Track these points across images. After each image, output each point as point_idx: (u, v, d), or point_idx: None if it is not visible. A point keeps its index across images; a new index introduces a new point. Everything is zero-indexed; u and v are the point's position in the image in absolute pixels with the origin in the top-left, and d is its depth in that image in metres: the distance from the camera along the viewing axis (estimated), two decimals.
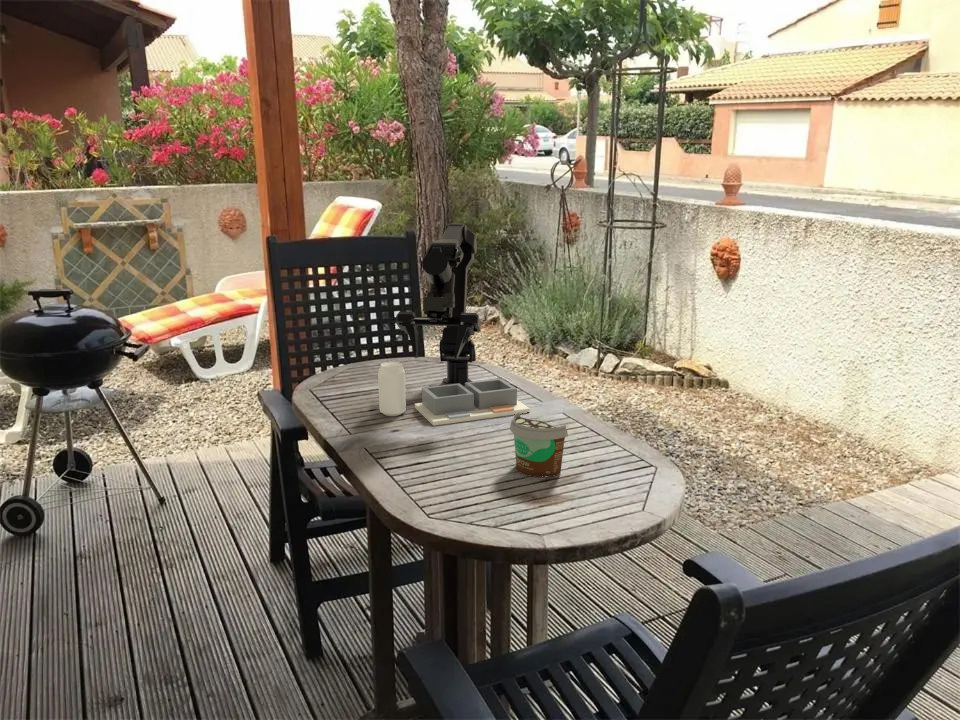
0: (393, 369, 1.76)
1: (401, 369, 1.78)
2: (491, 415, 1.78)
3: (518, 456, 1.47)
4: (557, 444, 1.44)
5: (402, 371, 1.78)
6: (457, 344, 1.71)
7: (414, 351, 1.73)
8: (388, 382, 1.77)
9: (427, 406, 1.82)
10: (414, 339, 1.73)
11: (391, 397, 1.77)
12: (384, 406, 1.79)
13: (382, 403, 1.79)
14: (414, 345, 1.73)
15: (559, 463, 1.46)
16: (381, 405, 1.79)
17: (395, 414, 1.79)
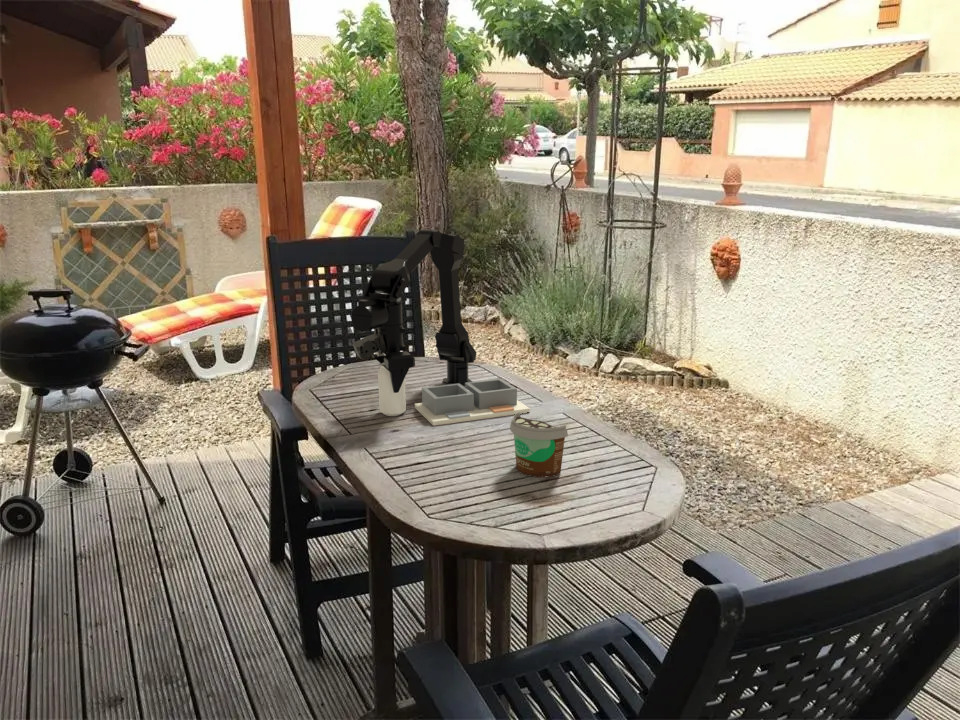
0: None
1: None
2: (491, 415, 1.78)
3: (518, 456, 1.47)
4: (557, 444, 1.44)
5: None
6: (391, 381, 1.76)
7: None
8: (388, 382, 1.77)
9: (427, 406, 1.82)
10: None
11: (391, 397, 1.77)
12: (384, 406, 1.79)
13: (382, 403, 1.79)
14: None
15: (559, 463, 1.46)
16: (381, 405, 1.79)
17: (395, 414, 1.79)
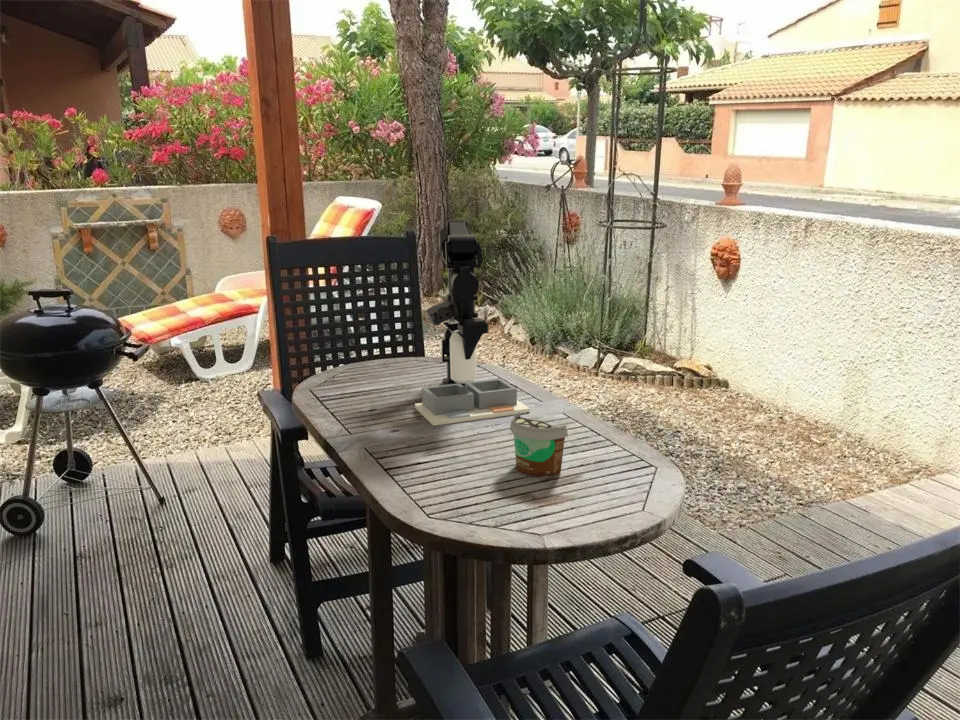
0: None
1: None
2: (491, 415, 1.78)
3: (518, 456, 1.47)
4: (557, 444, 1.44)
5: None
6: (463, 347, 1.78)
7: None
8: (460, 349, 1.79)
9: (427, 406, 1.82)
10: None
11: (463, 364, 1.79)
12: (455, 373, 1.81)
13: (453, 371, 1.81)
14: None
15: (559, 463, 1.46)
16: (452, 372, 1.81)
17: (466, 381, 1.81)
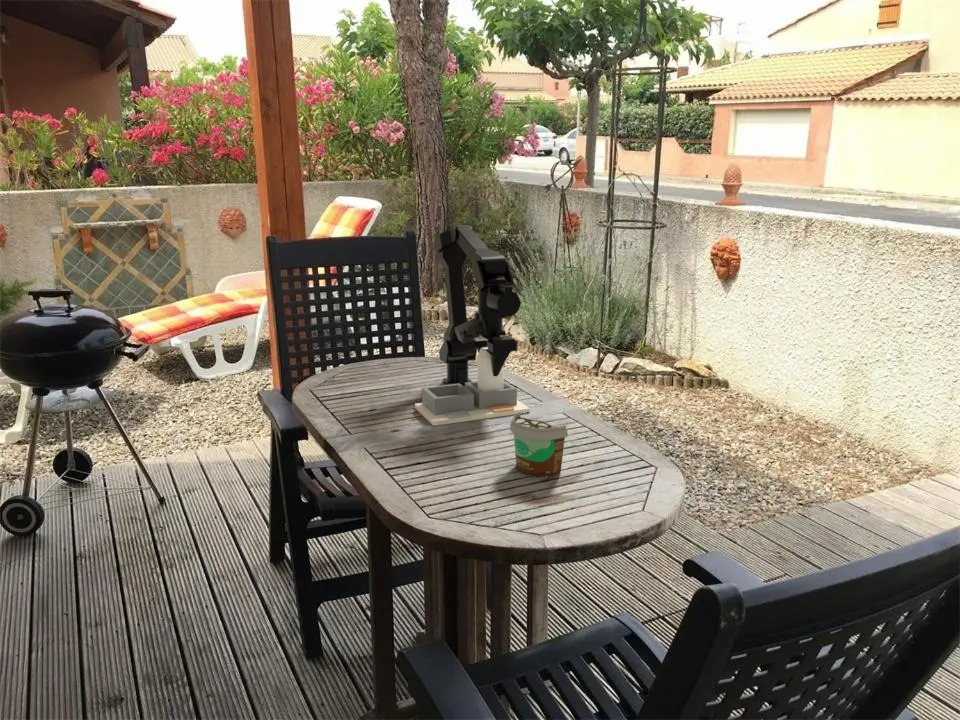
0: None
1: None
2: (491, 415, 1.78)
3: (518, 456, 1.47)
4: (557, 444, 1.44)
5: None
6: (492, 365, 1.81)
7: None
8: (488, 366, 1.81)
9: (427, 406, 1.82)
10: None
11: (491, 380, 1.82)
12: (483, 389, 1.83)
13: (481, 387, 1.84)
14: None
15: (559, 463, 1.46)
16: (480, 389, 1.84)
17: None
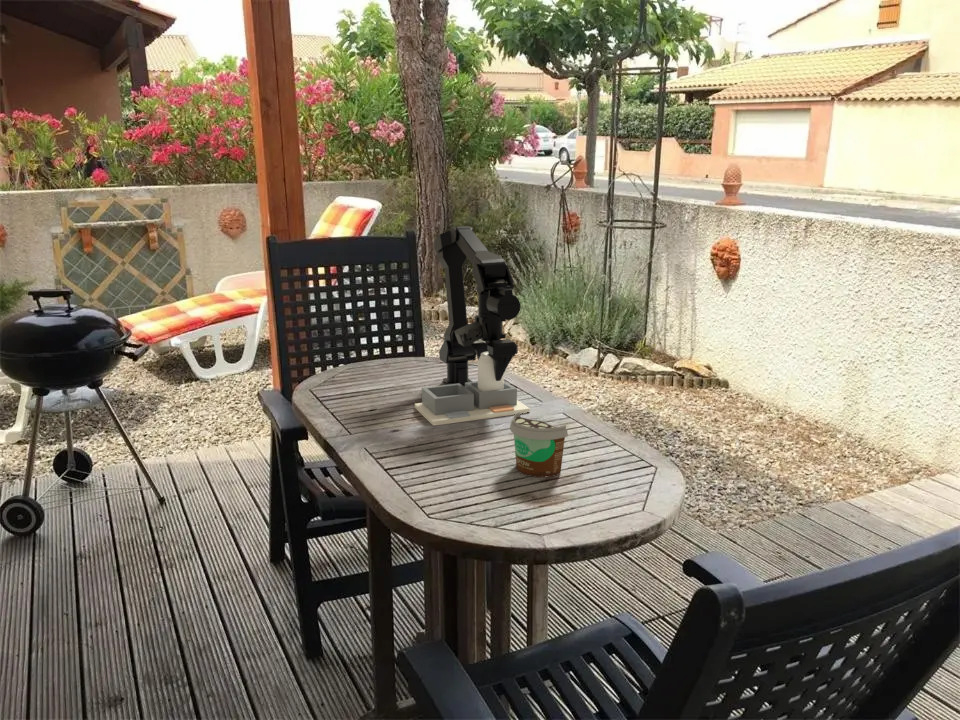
0: None
1: None
2: (491, 415, 1.78)
3: (518, 456, 1.47)
4: (557, 444, 1.44)
5: None
6: (494, 369, 1.80)
7: None
8: (488, 372, 1.81)
9: (427, 406, 1.82)
10: (478, 356, 1.88)
11: (491, 386, 1.82)
12: None
13: None
14: None
15: (559, 463, 1.46)
16: None
17: None
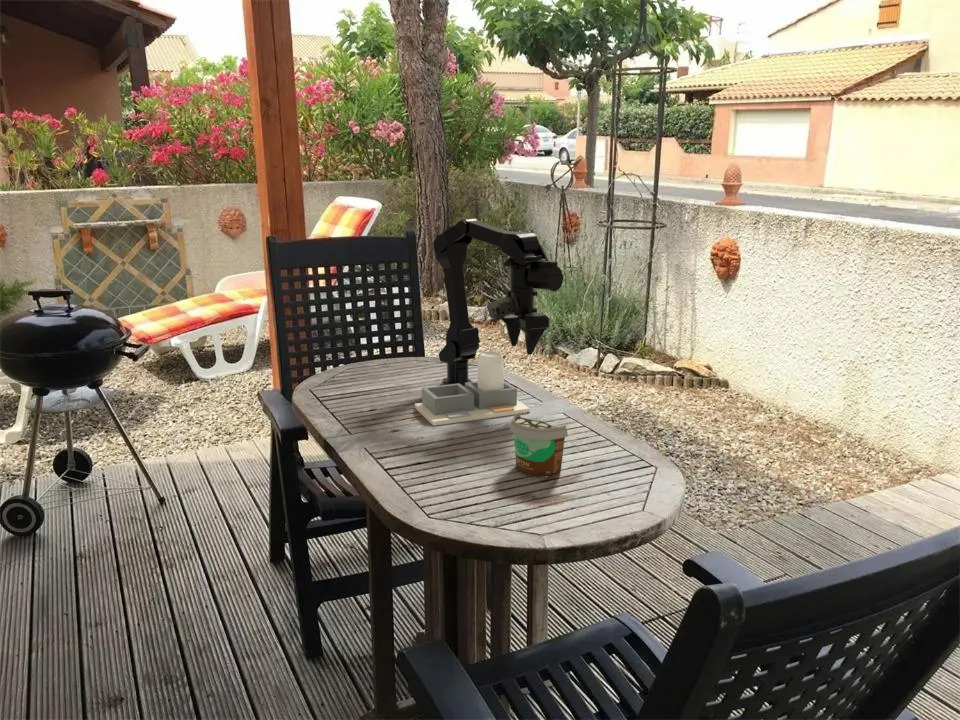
0: (494, 358, 1.81)
1: (501, 359, 1.83)
2: (491, 415, 1.78)
3: (518, 456, 1.47)
4: (557, 444, 1.44)
5: (502, 361, 1.83)
6: (526, 343, 1.82)
7: (510, 341, 1.91)
8: (488, 372, 1.81)
9: (427, 406, 1.82)
10: (508, 331, 1.90)
11: (491, 386, 1.82)
12: None
13: None
14: (509, 336, 1.90)
15: (559, 463, 1.46)
16: None
17: None
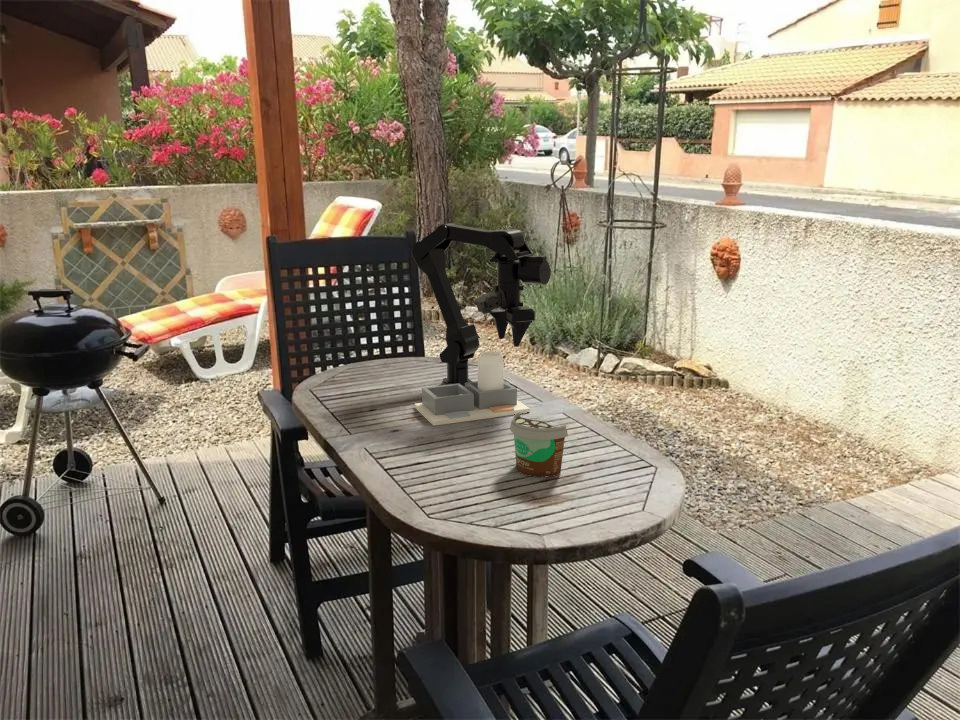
0: (494, 358, 1.81)
1: (501, 359, 1.83)
2: (491, 415, 1.78)
3: (518, 456, 1.47)
4: (557, 444, 1.44)
5: (502, 360, 1.83)
6: (512, 335, 1.89)
7: (498, 334, 1.98)
8: (488, 372, 1.81)
9: (427, 406, 1.82)
10: (496, 324, 1.97)
11: (491, 386, 1.82)
12: None
13: None
14: (497, 329, 1.98)
15: (559, 463, 1.46)
16: None
17: None
